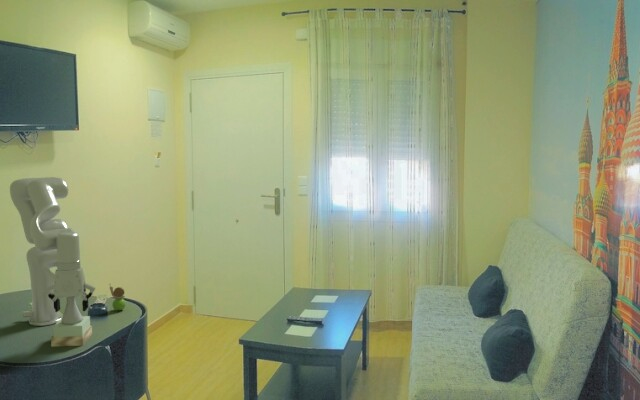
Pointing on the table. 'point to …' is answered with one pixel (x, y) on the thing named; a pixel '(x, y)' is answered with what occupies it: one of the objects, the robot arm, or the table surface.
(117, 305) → the snail figurine
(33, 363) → the table surface
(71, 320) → the flask
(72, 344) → the tower base block
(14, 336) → the table surface
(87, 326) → the tower top block
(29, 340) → the table surface
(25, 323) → the table surface
